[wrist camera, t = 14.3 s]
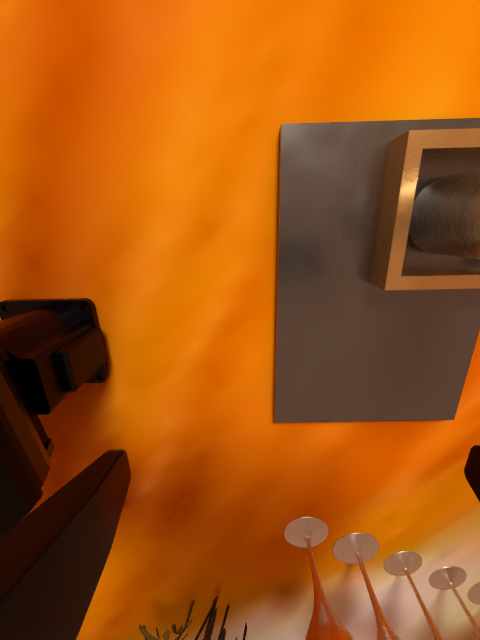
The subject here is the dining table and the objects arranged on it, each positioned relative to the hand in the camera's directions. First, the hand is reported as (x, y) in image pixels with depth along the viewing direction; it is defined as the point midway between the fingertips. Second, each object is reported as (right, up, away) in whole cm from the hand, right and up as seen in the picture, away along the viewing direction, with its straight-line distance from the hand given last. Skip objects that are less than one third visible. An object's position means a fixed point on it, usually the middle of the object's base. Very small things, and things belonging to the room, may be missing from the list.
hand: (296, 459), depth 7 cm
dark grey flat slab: (+8, +5, +12) cm, 15 cm away
